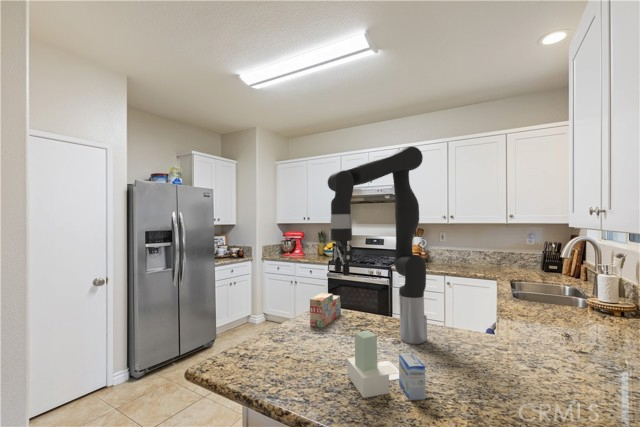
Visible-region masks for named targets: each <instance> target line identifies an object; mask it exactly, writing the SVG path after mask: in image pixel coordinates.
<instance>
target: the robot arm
mask: <svg viewBox="0 0 640 427" xmlns="http://www.w3.org/2000/svg"><path fill="white" fill-rule="evenodd" d="M423 156H424V155H423V153H422V150H420V149H419V148H418V147H416V146H413V145H411V146H407V147H403V148H401V149H398V150H396V151H395V152H394V153H393V154H392V155H391V156H388V157H384V158H380V159H375V160H372V161H368V162H364V163H362V164H359V165H355V166H353V167H351V168H348V169H343V170H339V171H336V172H334V173H332V174H331V175H329V177H328V179H327V186H328V188H329V189H330V191H332V192H335V193H334V198H332V200H331V202H330V241H332V244H331V245H332V247H331V248H332V250H331V253H332V254H331V255H332V260H333V261H334V271H335V272H338V273H339V272H342V275H343V276H346V277H347V276H350V265H351V263H353V249H352V248H353V246H352V244H348V242H351V241H353V228H352V227H353V222H352V215H351V214H352V212H351V211H352V210H351V209H352V207H351V202H352V198H353V192H354V186H361V185H364V184H367V183H370V182H372V181H376V180H378V179H380V178H383V177H386V176H388V175H391V174H392V178H393V188H394V189H393V192H394V218H395V254H394V267H395V271H396V272H397V273H398V275H400V276H403V277H404V285H401V286H400V287H399V289H398V291H399V292H398V296H399V298H398V299H399V335H400V336H399V337H400V338H399V339H400V340H401V341H402V342H403V343H406V344H410V345H411V344H412V345H420V344H423V343H425V342H427V341H428V323H427V322H428V317H427V315H426V314H425V295H424V294H425V289H426V288H427V287H426V286H427V265H426V261H425V259H424V257H422V256H421V255H418V254H414V253H413V239H414V237H415V236H414V235H415V234H416V230H417V229H418V226H419V222H420V205H419V200H418V199H417V197H416V194H415V193H414V191H413V189H412V187H411V184H410V171H414V170H416V169H418V168H419V167H420V166H421V165H422V163H423V158H424V157H423Z"/></svg>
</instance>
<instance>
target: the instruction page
mask: <svg viewBox="0 0 640 427" xmlns="http://www.w3.org/2000/svg"><path fill="white" fill-rule="evenodd" d="M377 363H378V364H379V365H380V366H381V367H382V368H383V369H384V370H385V371H386V372H387V373H388V374H389V382H393V381H397V380H398V381H399V368H397V367H396V366H395V365H394V364H393V363H392V362H391V361H390V360H384V361H377Z"/></svg>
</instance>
